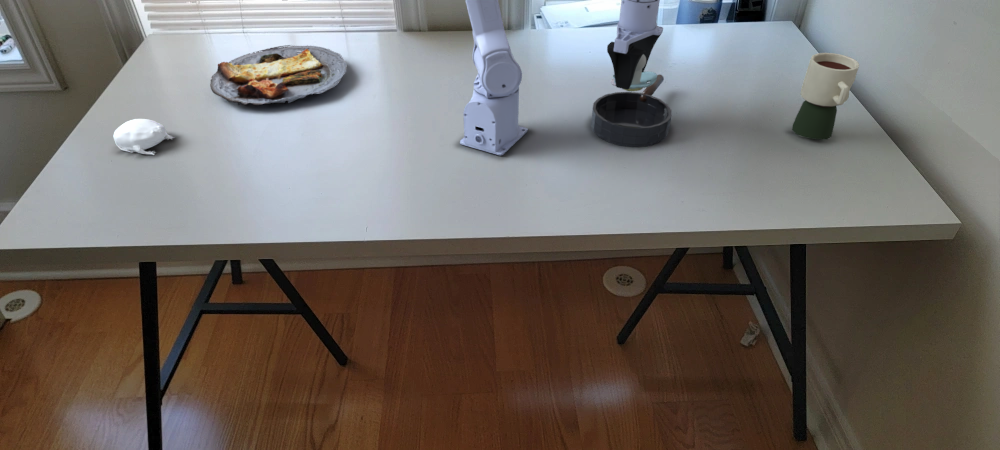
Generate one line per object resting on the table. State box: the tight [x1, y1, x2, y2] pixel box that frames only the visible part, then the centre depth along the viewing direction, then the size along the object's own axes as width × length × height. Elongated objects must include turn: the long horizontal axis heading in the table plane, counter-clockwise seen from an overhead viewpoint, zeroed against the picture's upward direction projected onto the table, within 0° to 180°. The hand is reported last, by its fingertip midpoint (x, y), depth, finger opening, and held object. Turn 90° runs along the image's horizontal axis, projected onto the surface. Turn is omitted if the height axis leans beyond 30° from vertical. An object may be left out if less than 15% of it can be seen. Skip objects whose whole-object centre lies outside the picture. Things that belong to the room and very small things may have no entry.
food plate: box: [209, 44, 348, 106], centre depth 124 cm, size 25×23×4 cm
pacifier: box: [610, 54, 658, 92], centre depth 107 cm, size 7×6×6 cm
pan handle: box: [640, 74, 665, 102], centre depth 117 cm, size 10×2×2 cm, turn 151°
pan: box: [590, 91, 673, 148], centre depth 110 cm, size 13×13×4 cm
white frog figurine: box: [113, 118, 176, 156], centre depth 105 cm, size 8×7×4 cm
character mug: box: [791, 52, 860, 140], centre depth 105 cm, size 11×7×13 cm, turn 3°
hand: (629, 79), depth 107 cm, fingers closed on pacifier, 6 cm apart
